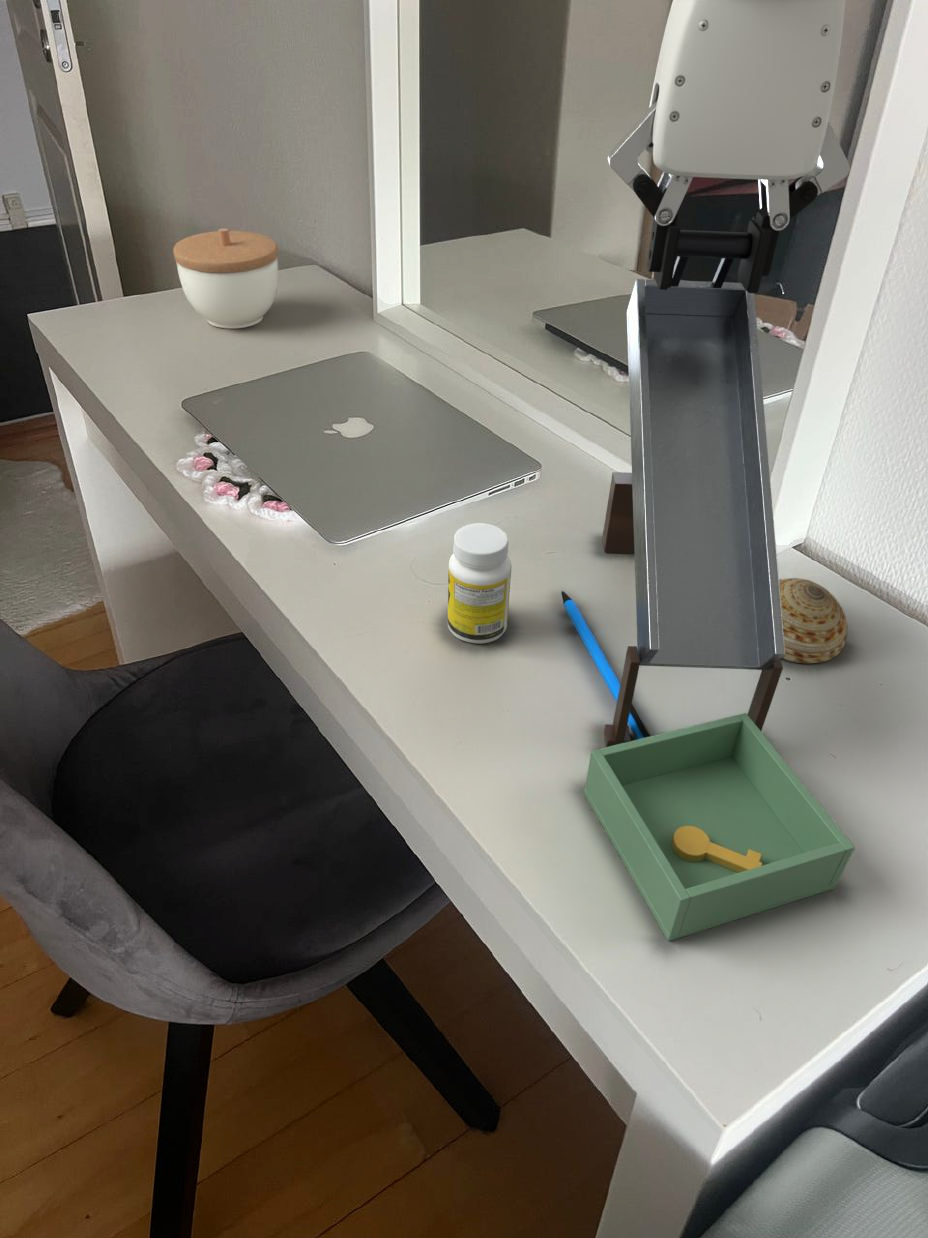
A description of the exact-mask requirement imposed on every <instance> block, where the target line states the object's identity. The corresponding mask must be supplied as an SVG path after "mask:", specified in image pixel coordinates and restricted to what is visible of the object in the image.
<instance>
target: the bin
mask: <svg viewBox="0 0 928 1238" xmlns="http://www.w3.org/2000/svg"><path fill="white" fill-rule="evenodd" d="M747 714H748V713H747V712H744V713H739V714H735V715H731V716H728V717H723V718H720V719H715V720H712V721H706V722H704V723H703V722H702V723H699V724H694V725H691V726H686V727H683V728H680V729H679V728H677V729H675V730H670V731H667V732H663V733H659V734H655V735H650V737H646V738H642V739H638V740H637V739H634V740H631V741H630V742H626V743H622V744H618V745H614V746H610V747H606V746H605V747H601V748H600V749H599V748H598V749H593V750H591V751H590V756H589V762H588V767H587V773H586V779H585V783H584V788H583V794H584V795H585V797H586V799H587V801H588V802H589V804H590V806H591V808H592V809H593V811H594V813H595V815H596V817H597V818H598V820H599V822H600V823H601V825H602V827H603V829H604V830H605V832H606V834H607V836H608V838H609V839H610V841H611V843H612V845H613V846H614V848H615V850H616V852H617V854H618V855H619V857H620V859H621V861H622V863H623V864H624V866H625V868H626V870H627V871H628V873H629V876H630V877H631V879H632V881H633V882H634V884H635V885H636V887H637V890H638V891H639V892H640V895H641V896H642V898H643V900H644V901H645V903H646V905H647V907H648V908H649V910H650V911H651V914H652V915H653V917H654V919H655V921H656V923H657V924H658V926H659V928H660V930H661V932H662V933H663V934H664V936H665V938H666V940H667V941H668V942H671V941H673V940H677V939H680V938H683V937H686V936H689V935H692V934H693V935H694V934H695V933H699V932H702V931H705V930H708V929H712V928H715V927H718V926H721V925H724V924H727V923H731V922H734V921H736V920H739V919H742V918H746V917H749V916H753V915H755V914H758V913H762V912H764V911H768V910H771V909H774V908H777V907H781V906H784V905H786V904H790V903H793V902H796V901H799V900H803V899H806V898H808V897H812V896H815V895H818V894H821V893H824V892H828V891H831V890H834V889H835V888H836V886H837V884H838V882H839V880H840V878H841V876H842V874H843V872H844V870H845V868H846V866H847V865H848V862H849V860H850V859H851V856H852V854H853V852H854V850H855V846H854V844H853V843H852V842H851V841H850V839H848V838H847V837H848V836H846V835H845V833H844V832H843V831H842V830H841V829H840V827H839V826H838V824H836V822H835V821H834V820H833V818H831V816H830V815H829V813H828V812H827V811H826V810H825V808H824V807H823V806H822V805H821V803H820V802H819V801H818V800H817V799H816V798H815V796H814V795H813V794H812V793H811V791H810V790H809V789H808V788H807V786H806V785H805V784H804V782H803V781H802V780H801V779H800V778H799V777H798V775H797V774H796V773H795V772H794V770H793V769H792V768H791V766H790V765H789V764H788V763H787V762H786V761H785V759H784V758H783V757H782V755H781V754H780V753H779V752H778V751H777V749H776V748H775V747H774V745H773V744H772V743H771V742H770V741H769V740H768V738H767V737H766V735H764V733H763V732H762V731H760V730H759V728H758V727H757V726H756V725H755V724H754V722H753V721H752V720H751V719H750V717H749V716H748V715H747ZM683 826H694V827H697V828H699V829H701V830H702V831H704V832H705V833H706V834H707V836H708V837H709V840H710V842H712V843H714V844H717V845H719V846H722V847H724V848H727V849H729V850H732V851H734V852H737V853H739V854H742V855H744V856H746V855H747V852H748V850H749V849H750V850H753V851H755V852H758V853H760V854H762V856H761V859H760V862H762V864H763V865H762V866H760V867H756V868H753V869H750V870H746V871H743V872H740V873H738V872H735V871H733V870H730V869H728V868H726V867H723V866H721V865H718V864H716V863H713V862H711V861H709V860H706V859H703V860H701V861H698V862H689V861H686V860H683V859H682V858H680V857H679V856H678V855H677V854H676V853H675V852H674V850H673V848H672V840H673V836H674V833H675V832H676V830H677V829H679V828H680V827H683Z"/></svg>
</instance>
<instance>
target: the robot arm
mask: <svg viewBox="0 0 928 1238" xmlns="http://www.w3.org/2000/svg"><path fill="white" fill-rule="evenodd" d="M845 8H846V0H672V2H671V6H670V9H669V13H668V17H667V21H666V25H665V29H664V33H663V37H662V41H661V46H660V50H659V54H658V60H657V64H656V70H655V75H654V80H653V86H652V90H651V96H650V101H649V107H648V109H647V110H646V111H645V112H644V113H643V114H642V115H641V117H640V118H638V120H637V121H636V122H635V123H634V124H633V126H632V127H630V129H629V130H628V131H627V132H626V133H625V134H624V136H623V137H622V138H621V139H620V140H619V141H618V142H617V143H616V144H615V146H614V147H612V149H611V150H610V151H609V153H608V156H607V161H608V164H609V167H610V168H611V169H612V170H613V171H614V172H615V173H616V175H618V177H619V178H620V179H621V180H622V181H623V182H624V183H625V184H626V185H627V186H628V187H629V188H630V189H631V190H632V191H633V192H634V194H635V195H636V196H637V198H638V199H639V200H640V202H641V203H642V204H643V205H644V207H645V208H646V209H647V211H648V212H649V214H650V215H651V216H652V217H653V220H652V227H651V234H650V239H649V245H648V251H647V259H646V269H647V272H648V273H653V277H654V280H655V281H656V283H657V286H658V288H659V290H667V289H668V288H670V287H671V283H672V277H673V271H674V266H675V263H676V260H677V256H676V254H677V249H678V243H679V237H680V230H681V227H680V226H679V223H678V218H679V215H678V212H679V209H680V207H681V205H682V203H683V201H684V198H685V196H686V194H687V192H688V189H689V188H690V186H691V184H692V181H693V179H694V178H710V179H731V180H733V179H734V180H757V182H758V195H759V196H758V197H759V209H758V210H757V212H756V216H752V219H750V220H749V222H748V225H747V226H748V227H747V231H746V233H751V234H752V248H751V252H750V255H749V257H748V258H747V259H740V263H739V267H738V272H737V279H738V281H739V283H741V284H742V285H743V287H744V289H745V290H746V291H748V293H754V294H758V292H759V289H760V285H761V282H762V277H768V276H769V275H770V272H771V268H772V266H773V265H772V264H773V260H774V257H775V252H776V247H777V243H778V239H779V234H780V231H782V230H784V229H786V228H787V226H788V225H789V224H790V220H791V219H793V218H794V217H795V216H796V215H798V214H799V213H801V212H802V211H803V210H804V209H805V208H807V207H808V206H809V205H810V204H812V203H813V202H814V201H815V200H816V199H817V196H819V195H821V194H824V193H825V192H826V191H828V190H829V189H831V188H833V187H834V186H836V185H837V184H839V182H841V181H843V180H844V179H845V178H847V177H848V176H849V174H850V172H851V166H850V163H849V161H848V159H847V157H846V155H845V153H844V150H843V148H842V146H841V144H840V141H839V140H838V137H837V135H836V134H835V131H834V129H833V127H832V125H831V122H830V121H829V119H830V115H831V110H832V104H833V98H834V95H835V88H836V82H837V77H838V71H839V63H840V55H841V49H842V48H841V47H842V39H843V30H844V21H845V10H846V9H845ZM645 150H646V152H647V153H648V154H649V155H651V156H652V160H653V164H654V165H655V167H656V168H657V169H659V171H661V172H662V174H661V176H660V179H659V181H658V183H656V181H654V179H653V178H652V176H651V175H650V174H649V173H648V171H646V170H645V169H644V167H643V166H641V164H640V163H639V157H640V156H641V154H642V153H644V151H645ZM789 180H794V181H793V182H791V183H790V184H789Z"/></svg>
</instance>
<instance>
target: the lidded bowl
mask: <svg viewBox="0 0 928 1238" xmlns="http://www.w3.org/2000/svg"><path fill="white" fill-rule="evenodd" d="M172 252H173V257H174V260H175V262H176V268H177V269H176V270H177V273H178V278H179V281H180V285H181V287H182V290H183V293H184V296H185V297H186V299H187V301H188V303H189V304H190V305H191V307H192V308H193V309H194V310H195V312H197V313H198V314H199V315H200V316H202V317H203V318H204V319H206V322H207V323H208V324H209V325H211V326H213V327H216V328H222V329H231V330H232V329H244V328H249V327H253V326H255V325H258V324H259V323H261V322H262V321H263V319H264V316H265V315H266V314H267V312H268V311H269V310H270V308H271V307H272V306H273V303H274V302H275V300H276V296H277V293H278V288H279V262H278V259H279V258H278V256H279V247H278V244H277V243H276V241H275V240H274V239H273V238H271V237H269V236H267V235H264V234H261V233H257V232H253V231H252V232H251V231H246V230H245V231H243V230H229V228H225V227H223V228H222V227H221V228H218V230H216V231H206V232H201V233H197V234H193V235H190V236H187V237H185V238H183V239H181V240H179V241H178V242H176V243H175V244H174V246H173V249H172Z"/></svg>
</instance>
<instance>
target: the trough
mask: <svg viewBox="0 0 928 1238" xmlns="http://www.w3.org/2000/svg"><path fill="white" fill-rule="evenodd" d="M751 248H752V234H751V233H747V232H742V231H741V232H739V231H737V232H736V231H715V230H713V231H712V230H688V229H680V237H679V243H678V249H677V254H676V260H675V266H674V271H673V277H672V283H671V287H670V288H668V289H667V290H659V288H658V286H657V283H656V281H655V279H651V278H650V279H649V278H645V279H644V278H636V279H635V282H634V285H633V289H632V293H631V296H630V300H629V302H628V306H627V310H626V327H627V328H626V330H627V359H628V360H627V361H628V362H627V363H628V390H629V391H628V394H629V423H630V425H629V426H630V455H631V457H630V458H631V473H632V490H633V521H634V552H635V554H634V579H635V580H634V581H635V608H636V609H635V610H636V611H635V612H636V639H637V641H636V643H637V644H636V646H637V649H638V654H639V659H640V666H639V667H664V668H665V667H666V668H667V667H669V668H694V669H696V668H697V669H699V668H700V669H727V670H751V671H752V670H756V671H762V670H766V669H767V668H768V667H770V666H771V665H772V664H774V663H775V662H776V661H777V660H779V659H780V660H781V659H782V658H781V657H782V656H784V655H785V646H784V635H783V623H782V611H781V600H780V588H779V580H780V579H779V578H780V577H779V565H778V555H777V543H776V531H775V520H774V519H775V518H774V507H773V496H772V495H773V494H772V485H771V473H770V461H769V451H768V449H769V448H768V439H767V438H768V436H767V426H766V414H765V404H764V393H763V392H764V391H763V382H762V380H763V379H762V367H761V357H760V355H761V354H760V344H759V333H758V322H757V321H758V320H757V310H756V309H757V308H756V296H755V293H748V291H746V290H745V289H744V287H743V285H742V284H741V282H730V281H728V282H727V281H725V280H726V278H727V275H728V273H729V271H730V269H731V267H732V265H733V262H734V260H735V259H737V260H741V259H747V258H748V257H749V255H750V252H751ZM690 258H703V259H705V258H708V259H720V262H719V264H718V267H717V270H716V272H715V274H714V277H713V279H712V281H703V280H701V281H700V280H699V281H698V280H682V277H683V274H684V272H685V269H686V266H687V264H688V261H689V259H690Z"/></svg>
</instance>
